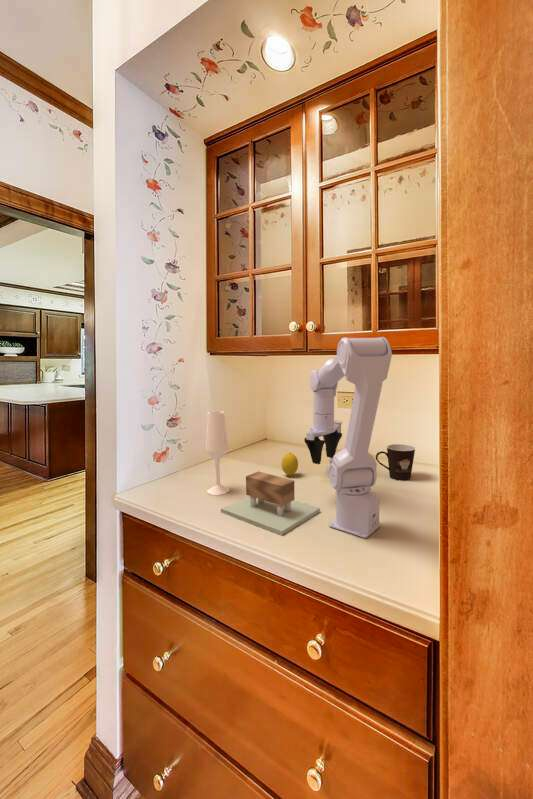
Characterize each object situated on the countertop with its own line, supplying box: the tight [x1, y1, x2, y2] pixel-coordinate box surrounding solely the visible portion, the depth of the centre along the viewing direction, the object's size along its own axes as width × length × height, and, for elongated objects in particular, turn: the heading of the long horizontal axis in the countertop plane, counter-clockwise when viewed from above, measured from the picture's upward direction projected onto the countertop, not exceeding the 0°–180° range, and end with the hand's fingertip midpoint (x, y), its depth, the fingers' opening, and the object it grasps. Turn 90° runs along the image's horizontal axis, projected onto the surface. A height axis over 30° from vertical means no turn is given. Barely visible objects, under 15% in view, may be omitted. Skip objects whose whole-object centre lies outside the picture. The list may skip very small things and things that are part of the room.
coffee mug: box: [375, 443, 416, 482], centre depth 120 cm, size 12×9×10 cm
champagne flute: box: [205, 410, 230, 496], centre depth 109 cm, size 7×7×24 cm
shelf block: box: [245, 471, 296, 506], centre depth 94 cm, size 12×5×5 cm, turn 50°
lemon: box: [281, 452, 299, 477], centre depth 123 cm, size 6×6×8 cm
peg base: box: [220, 495, 321, 536], centre depth 95 cm, size 20×16×4 cm
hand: (323, 460), depth 104 cm, fingers open, 7 cm apart
